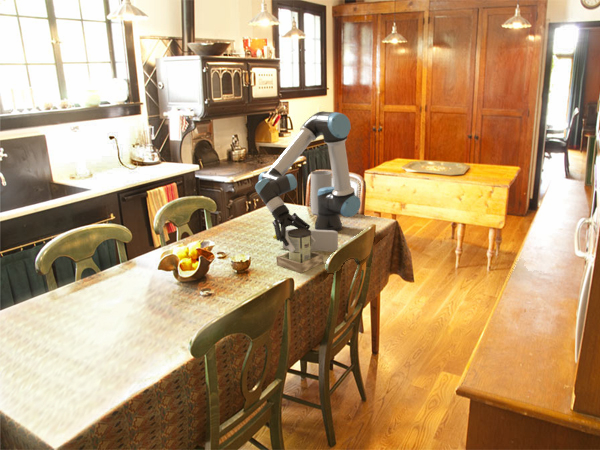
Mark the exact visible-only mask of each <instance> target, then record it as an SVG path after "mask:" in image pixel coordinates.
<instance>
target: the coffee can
mask: <svg viewBox="0 0 600 450" xmlns="http://www.w3.org/2000/svg"><path fill="white" fill-rule="evenodd" d="M291 229H292V230H290V231H288V239H289V240H290V242H291V243H292V245H293V247H294V248H295V250H294V251H293V252H292V253H291V252H290V251H289V250H288V252H289V260H292V261H296V262H299V263H303V262H305V261H307V260H310V259H311V251H312V250H311V231H310V230H308V229H303V228H291Z"/></svg>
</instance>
